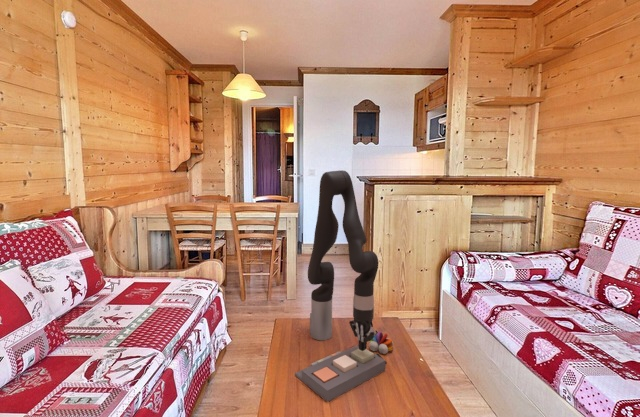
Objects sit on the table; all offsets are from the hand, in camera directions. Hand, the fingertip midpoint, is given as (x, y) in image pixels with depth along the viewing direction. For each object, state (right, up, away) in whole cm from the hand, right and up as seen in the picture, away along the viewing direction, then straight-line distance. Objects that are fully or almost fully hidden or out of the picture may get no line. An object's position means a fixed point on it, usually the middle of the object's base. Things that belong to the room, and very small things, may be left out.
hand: (362, 349), depth 130 cm
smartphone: (+2, -7, +4) cm, 8 cm away
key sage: (0, -4, +1) cm, 4 cm away
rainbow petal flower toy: (+9, -6, +14) cm, 18 cm away
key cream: (-7, -5, -5) cm, 10 cm away
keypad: (-8, -7, -3) cm, 11 cm away
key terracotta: (-14, -6, -10) cm, 19 cm away
